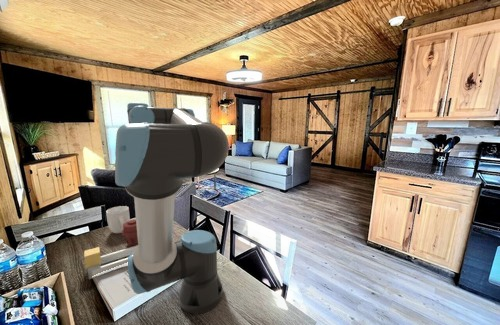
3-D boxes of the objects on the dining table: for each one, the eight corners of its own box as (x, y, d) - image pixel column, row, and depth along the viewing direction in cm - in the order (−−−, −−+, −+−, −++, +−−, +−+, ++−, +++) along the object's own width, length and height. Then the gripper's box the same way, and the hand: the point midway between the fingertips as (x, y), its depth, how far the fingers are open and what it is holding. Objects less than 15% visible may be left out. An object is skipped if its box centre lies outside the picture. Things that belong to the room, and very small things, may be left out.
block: (101, 263, 86) (99, 252, 85) (85, 268, 83) (84, 256, 82) (100, 257, 90) (99, 246, 89) (86, 261, 87) (84, 250, 86)
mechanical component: (131, 238, 113) (149, 239, 112) (118, 248, 103) (137, 249, 102) (129, 216, 111) (147, 217, 110) (115, 225, 101) (135, 226, 100)
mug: (135, 233, 118) (133, 211, 116) (112, 240, 110) (109, 217, 108) (127, 224, 128) (125, 204, 126) (106, 230, 121) (104, 209, 119)
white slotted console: (147, 259, 94) (146, 251, 94) (89, 279, 82) (87, 270, 81) (142, 249, 102) (142, 242, 101) (89, 266, 89) (87, 258, 89)
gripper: (159, 144, 75) (163, 200, 79) (145, 141, 95) (148, 186, 98) (136, 145, 71) (141, 205, 74) (126, 142, 91) (130, 188, 94)
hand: (145, 194), depth 86 cm, fingers open, 13 cm apart
